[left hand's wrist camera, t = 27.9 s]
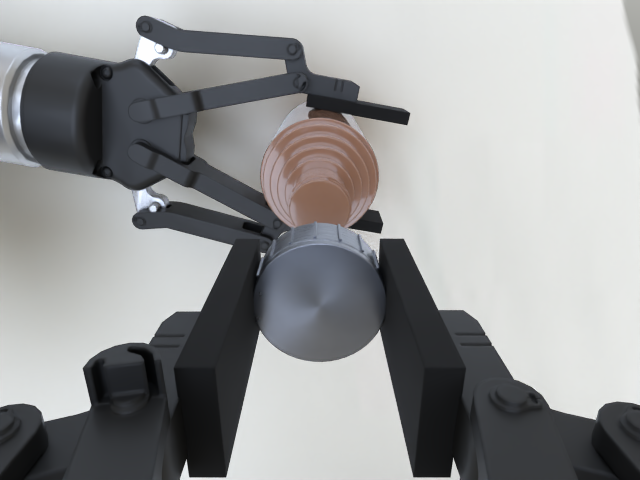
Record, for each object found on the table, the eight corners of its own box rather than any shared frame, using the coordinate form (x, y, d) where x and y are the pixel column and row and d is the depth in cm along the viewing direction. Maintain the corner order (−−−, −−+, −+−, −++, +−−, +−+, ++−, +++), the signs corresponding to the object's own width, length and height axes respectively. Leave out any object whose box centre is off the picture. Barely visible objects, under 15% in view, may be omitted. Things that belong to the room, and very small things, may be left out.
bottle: (339, 194, 38) (354, 296, 22) (266, 162, 37) (223, 244, 21) (374, 121, 36) (421, 173, 19) (298, 84, 35) (278, 107, 18)
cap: (373, 211, 14) (380, 231, 12) (387, 322, 15) (396, 354, 13) (247, 230, 14) (236, 253, 12) (272, 338, 15) (266, 371, 14)
